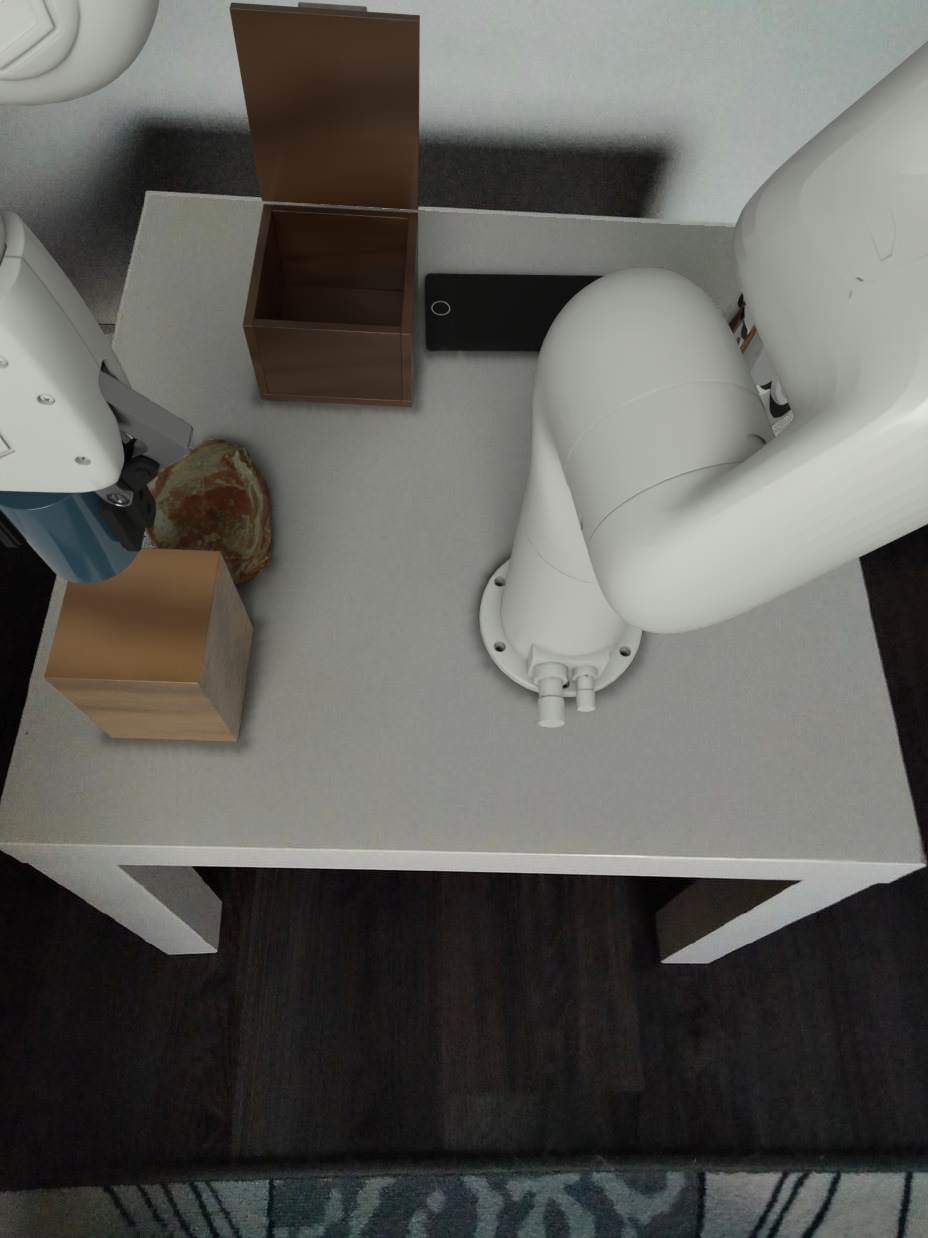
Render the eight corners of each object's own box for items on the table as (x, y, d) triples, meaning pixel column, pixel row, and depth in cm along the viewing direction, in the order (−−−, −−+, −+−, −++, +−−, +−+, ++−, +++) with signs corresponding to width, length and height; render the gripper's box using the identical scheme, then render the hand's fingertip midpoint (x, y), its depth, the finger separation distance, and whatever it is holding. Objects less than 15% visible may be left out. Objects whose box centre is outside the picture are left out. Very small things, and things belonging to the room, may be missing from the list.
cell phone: (424, 280, 80) (424, 272, 79) (611, 282, 81) (613, 274, 80) (426, 352, 76) (426, 344, 75) (621, 353, 77) (624, 346, 76)
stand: (238, 742, 60) (198, 683, 49) (110, 737, 60) (43, 678, 49) (253, 628, 64) (220, 550, 53) (134, 623, 64) (76, 544, 53)
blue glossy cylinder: (133, 585, 42) (81, 512, 36) (33, 582, 42) (-37, 507, 36) (150, 501, 45) (104, 418, 38) (55, 498, 44) (-7, 413, 38)
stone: (125, 488, 69) (112, 466, 66) (237, 438, 71) (229, 415, 68) (191, 616, 64) (180, 598, 61) (309, 558, 67) (303, 539, 64)
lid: (419, 20, 58) (422, -17, 61) (229, 7, 58) (240, -30, 60) (418, 210, 71) (420, 173, 73) (261, 201, 70) (269, 164, 73)
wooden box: (411, 407, 74) (411, 334, 66) (261, 399, 73) (242, 325, 65) (418, 291, 79) (418, 212, 71) (278, 284, 79) (263, 203, 71)
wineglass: (736, 526, 70) (847, 358, 52) (643, 508, 70) (722, 334, 52) (741, 451, 73) (848, 269, 55) (653, 434, 74) (730, 247, 56)
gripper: (-495, 293, 24) (-115, 585, 40) (115, 318, 24) (243, 597, 41) (-378, 118, 27) (-70, 455, 43) (160, 143, 27) (262, 468, 44)
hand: (80, 522), depth 42 cm, fingers closed on blue glossy cylinder, 5 cm apart
